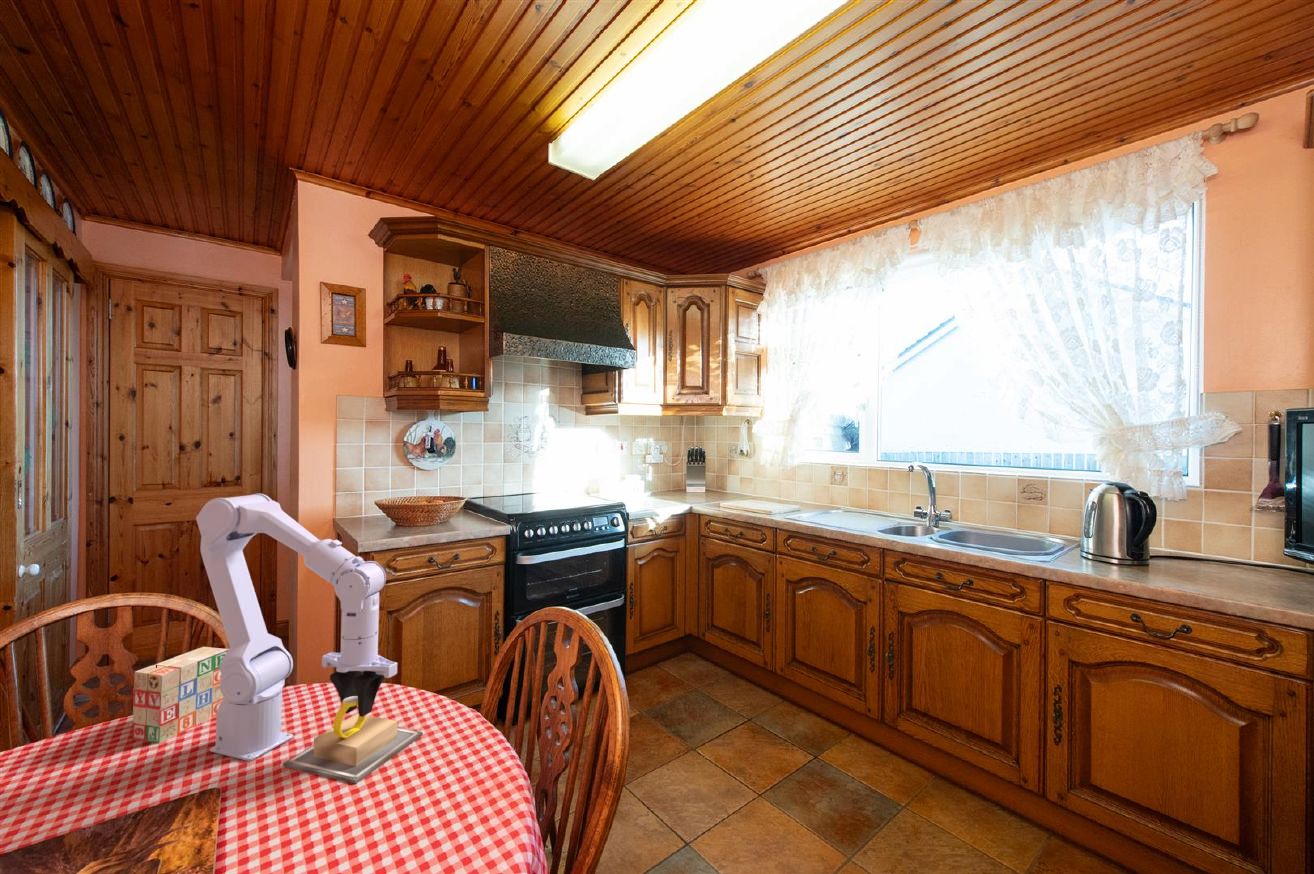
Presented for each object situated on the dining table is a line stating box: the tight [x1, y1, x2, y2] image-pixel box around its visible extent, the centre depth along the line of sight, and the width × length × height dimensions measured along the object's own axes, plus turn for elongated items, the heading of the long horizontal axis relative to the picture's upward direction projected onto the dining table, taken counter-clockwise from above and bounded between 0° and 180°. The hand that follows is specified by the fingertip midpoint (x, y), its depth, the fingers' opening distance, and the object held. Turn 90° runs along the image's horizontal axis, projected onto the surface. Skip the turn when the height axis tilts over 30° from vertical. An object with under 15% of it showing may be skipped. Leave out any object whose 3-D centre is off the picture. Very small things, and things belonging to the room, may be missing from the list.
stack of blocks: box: [131, 646, 257, 744], centre depth 105 cm, size 21×6×12 cm, turn 169°
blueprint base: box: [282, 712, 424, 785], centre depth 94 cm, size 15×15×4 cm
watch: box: [332, 696, 366, 739], centre depth 92 cm, size 6×3×6 cm, turn 166°
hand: (357, 712), depth 94 cm, fingers open, 3 cm apart
